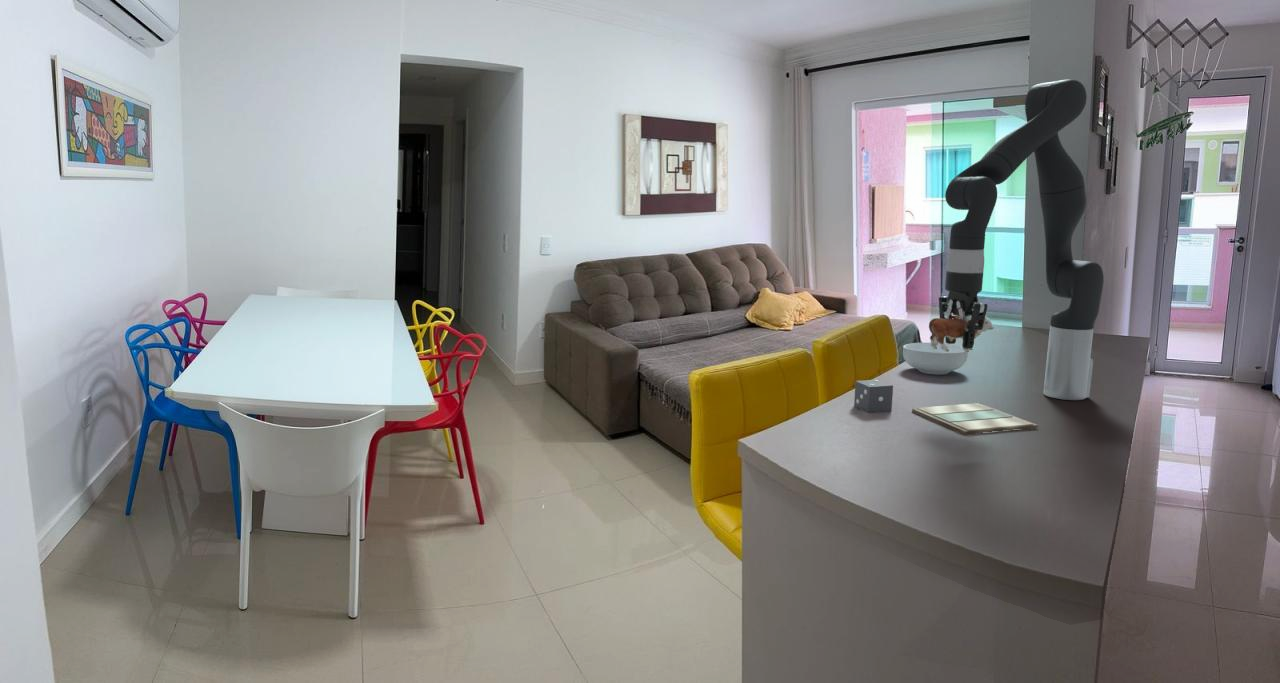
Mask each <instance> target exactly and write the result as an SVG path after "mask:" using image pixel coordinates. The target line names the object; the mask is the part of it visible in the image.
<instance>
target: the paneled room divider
mask: <svg viewBox="0 0 1280 683" xmlns="http://www.w3.org/2000/svg"><path fill="white" fill-rule="evenodd" d="M911 412H912V413H913V414H916V415H918V416H920V417H922V418H924V419H927V420H929V421H931V422H933V423H936V424H938V425H941V426H943V427H944V428H946V429H949V430H952V431H954V432H957V433H959V434H961V435H963V434H964V435H963V436H970V435H969V434H973V435H977V434H976V433H983V432H992V431H1003V430H1013V429H1028V430H1032V429H1031V428H1039V424H1037V423H1034V422H1031V421H1028V420H1025V419H1023V418H1020V417H1017V416H1015V415H1012V414H1010V413H1006V412H1004V411H1001V410H999V409H996V408H994V407H992V406H991V407H990V406H988V405H985V404H982V403H978V402H975V403H963V404H951V405H950V404H947V405H936V406H934V405H933V406H924V407H923V406H922V407H916V408H912V409H911Z"/></svg>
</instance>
